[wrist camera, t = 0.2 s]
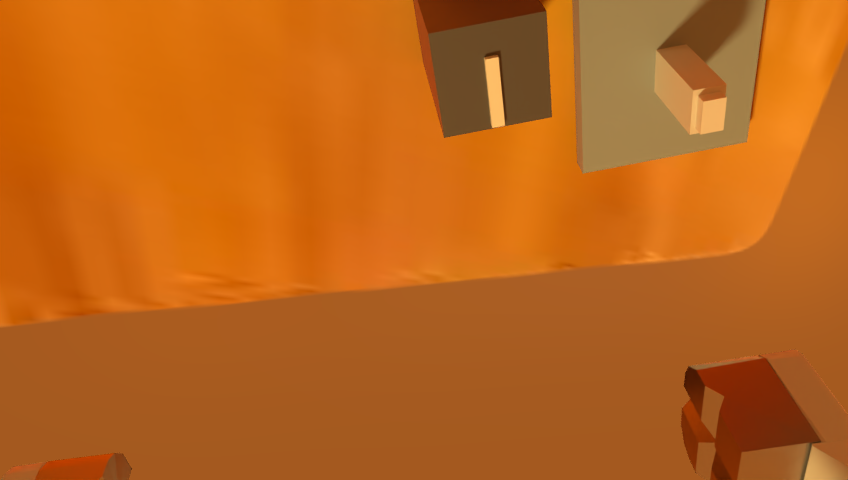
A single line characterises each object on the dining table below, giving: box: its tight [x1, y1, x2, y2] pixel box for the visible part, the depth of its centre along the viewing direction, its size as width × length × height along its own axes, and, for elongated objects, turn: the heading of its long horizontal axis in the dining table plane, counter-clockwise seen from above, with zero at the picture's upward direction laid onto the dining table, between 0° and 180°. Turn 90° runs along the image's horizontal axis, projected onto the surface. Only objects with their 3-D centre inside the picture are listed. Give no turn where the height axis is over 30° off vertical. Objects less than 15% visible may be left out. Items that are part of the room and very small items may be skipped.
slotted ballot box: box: [413, 0, 552, 138], centre depth 43 cm, size 6×6×10 cm
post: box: [573, 0, 766, 173], centre depth 47 cm, size 14×12×8 cm
